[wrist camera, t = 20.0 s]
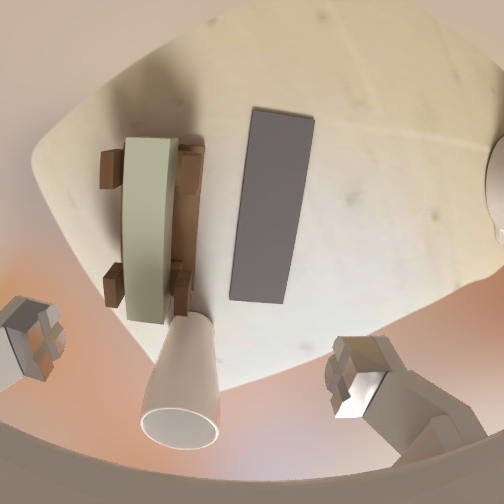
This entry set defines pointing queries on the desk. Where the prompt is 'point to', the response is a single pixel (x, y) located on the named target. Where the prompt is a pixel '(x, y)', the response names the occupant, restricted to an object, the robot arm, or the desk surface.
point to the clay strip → (148, 225)
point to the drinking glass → (184, 387)
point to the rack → (182, 224)
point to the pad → (270, 206)
